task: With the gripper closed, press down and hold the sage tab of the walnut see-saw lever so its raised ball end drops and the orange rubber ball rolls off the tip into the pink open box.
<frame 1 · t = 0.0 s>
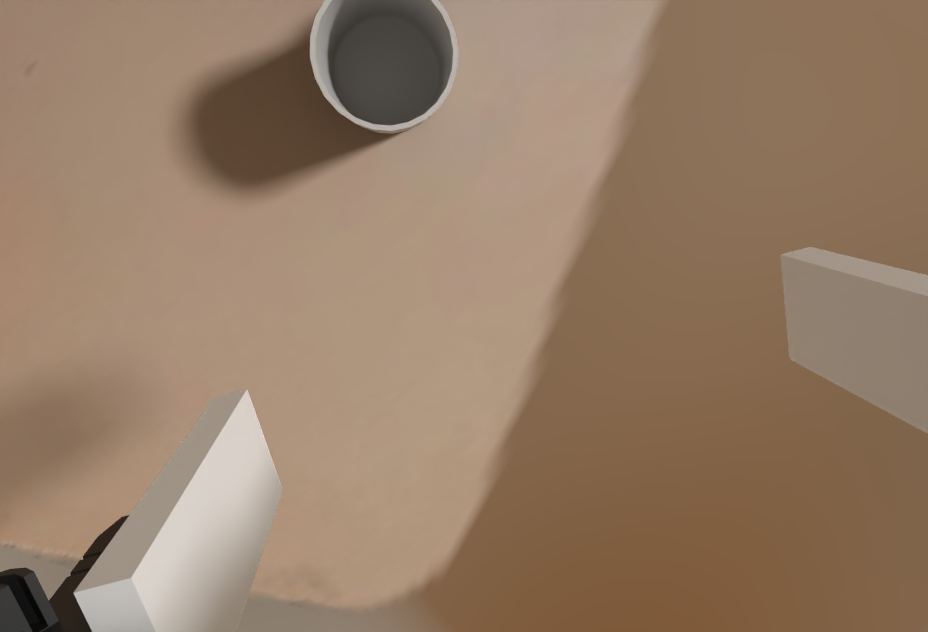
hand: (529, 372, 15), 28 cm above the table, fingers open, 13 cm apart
cup: (396, 53, 39), on the table
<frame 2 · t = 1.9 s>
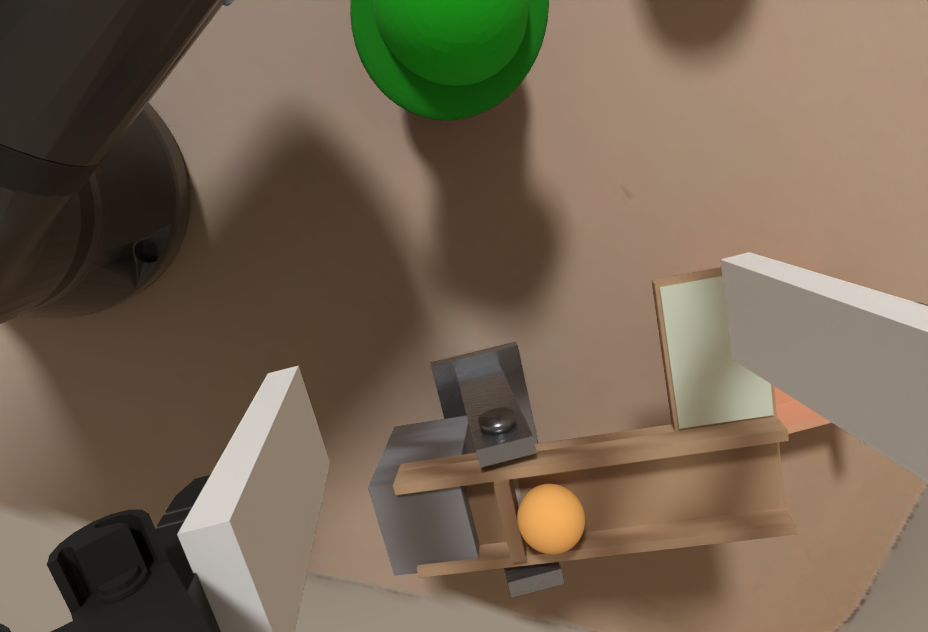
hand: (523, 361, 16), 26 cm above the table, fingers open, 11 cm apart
lever: (559, 415, 35), point 9 cm above the table, hinge at -12.0°, touching ball
toy: (436, 47, 38), on the table
bracket: (489, 423, 44), on the table
ball: (550, 518, 33), point 13 cm above the table, tilted 15°, touching lever
pink open box: (754, 356, 45), on the table
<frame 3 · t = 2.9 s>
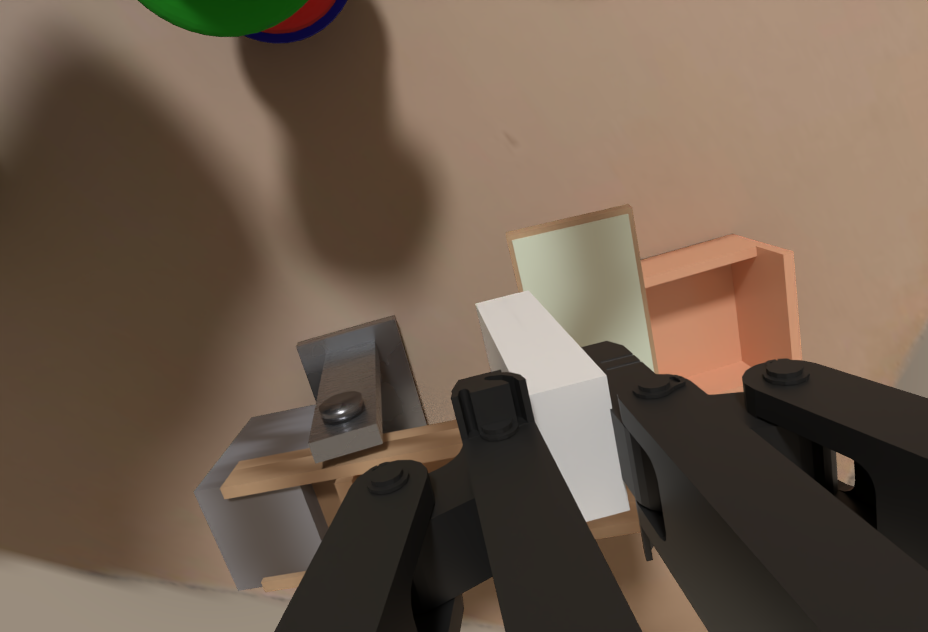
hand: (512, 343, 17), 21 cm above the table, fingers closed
lever: (421, 397, 30), point 9 cm above the table, hinge at -12.0°, touching ball
bracket: (372, 408, 39), on the table
pink open box: (667, 322, 41), on the table
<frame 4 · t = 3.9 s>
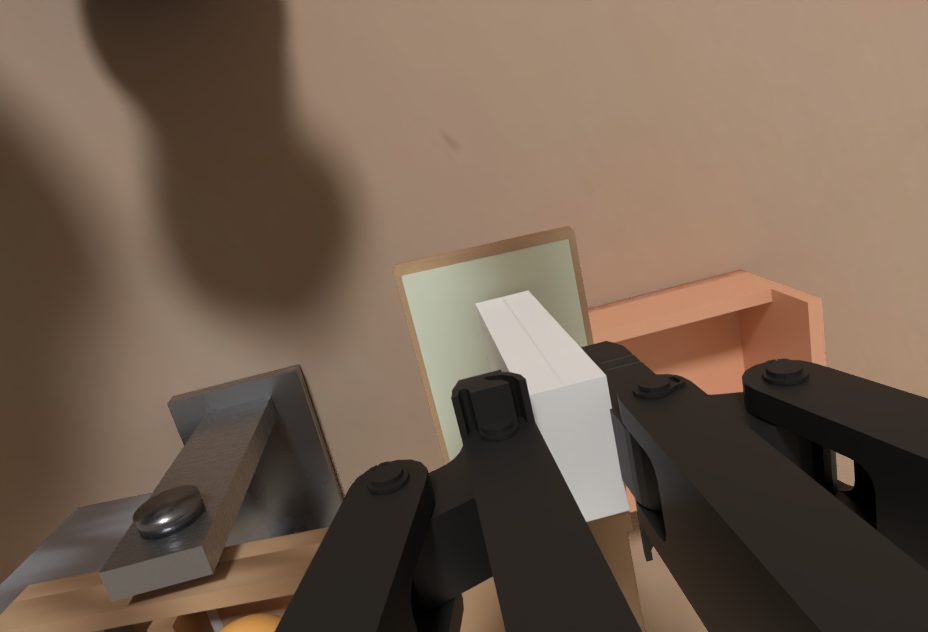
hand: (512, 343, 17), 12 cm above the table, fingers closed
lever: (291, 491, 21), point 9 cm above the table, hinge at -7.3°, touching ball, gripper
bracket: (272, 481, 31), on the table
pink open box: (654, 380, 32), on the table
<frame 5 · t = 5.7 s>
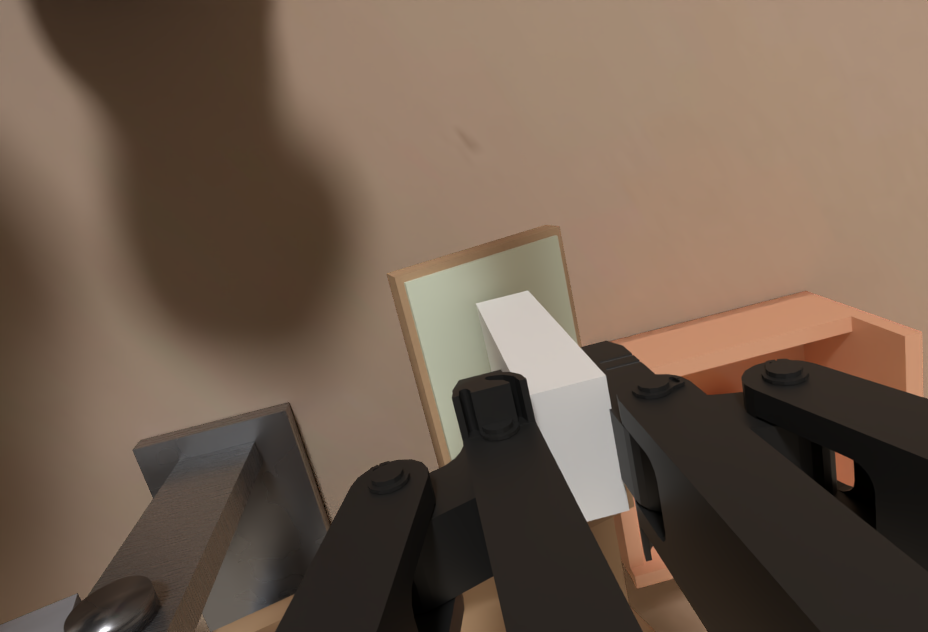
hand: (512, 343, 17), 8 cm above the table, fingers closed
lever: (254, 557, 18), point 8 cm above the table, hinge at 16.0°, touching gripper
bracket: (258, 536, 26), on the table
pink open box: (703, 418, 27), on the table
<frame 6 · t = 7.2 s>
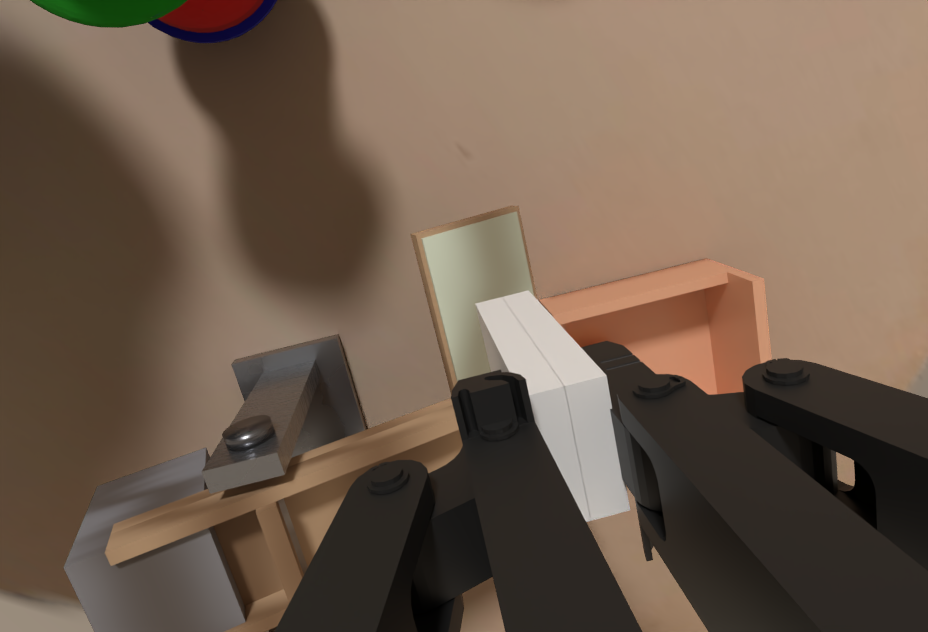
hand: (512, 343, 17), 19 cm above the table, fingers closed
lever: (325, 415, 29), point 8 cm above the table, hinge at 16.0°
bracket: (314, 432, 37), on the table
pink open box: (634, 351, 38), on the table
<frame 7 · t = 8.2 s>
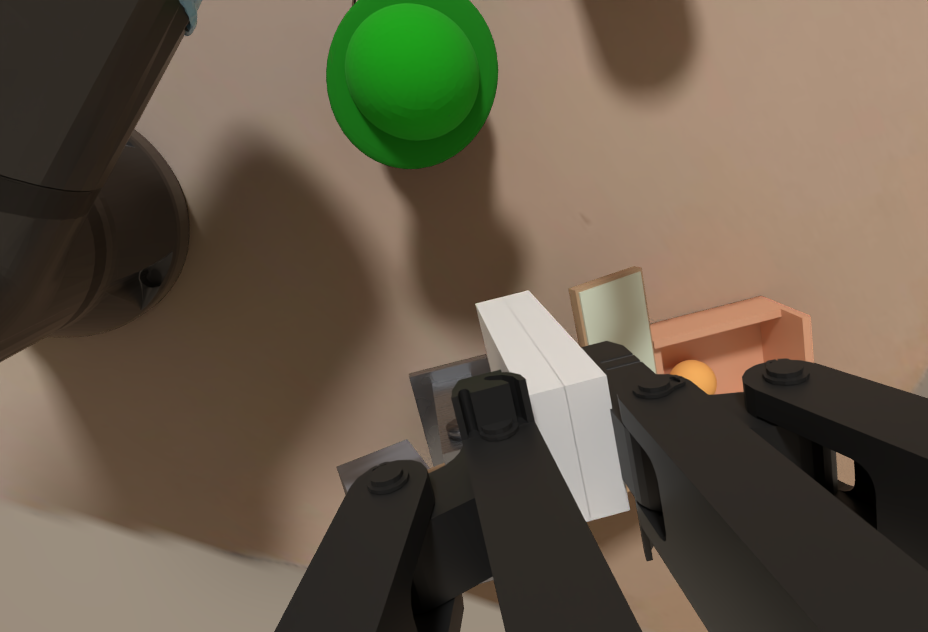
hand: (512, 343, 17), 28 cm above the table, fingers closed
lever: (502, 415, 41), point 8 cm above the table, hinge at 16.0°
toy: (409, 91, 42), on the table
bracket: (463, 428, 49), on the table
ball: (692, 382, 47), point 2 cm above the table, tilted 167°, touching pink open box
pink open box: (705, 365, 50), on the table
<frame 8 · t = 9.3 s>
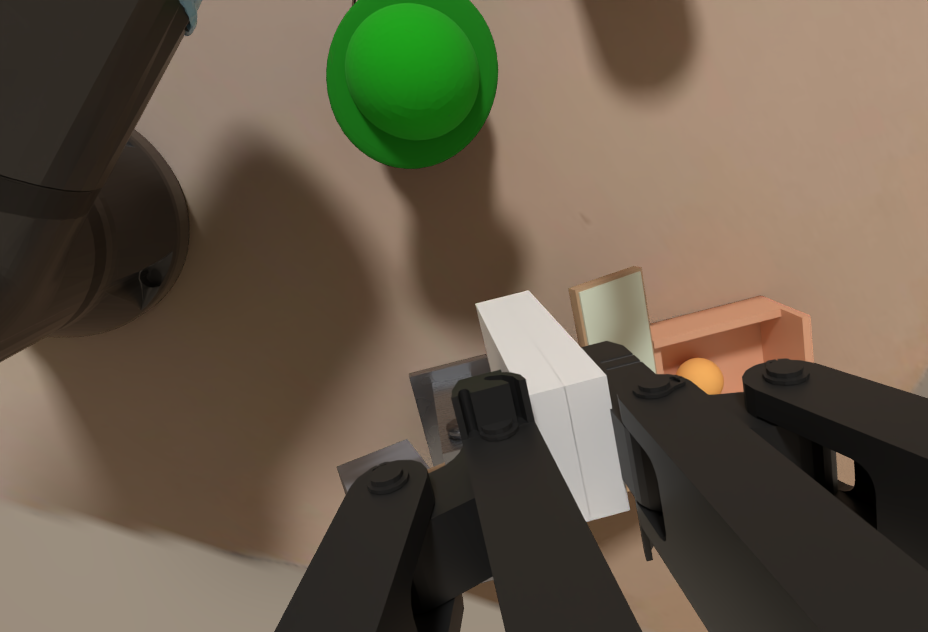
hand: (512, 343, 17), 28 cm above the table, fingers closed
lever: (502, 415, 41), point 8 cm above the table, hinge at 16.0°
toy: (409, 91, 42), on the table
bracket: (463, 427, 49), on the table
ball: (699, 380, 47), point 2 cm above the table, tilted 149°, touching pink open box
pink open box: (705, 365, 50), on the table
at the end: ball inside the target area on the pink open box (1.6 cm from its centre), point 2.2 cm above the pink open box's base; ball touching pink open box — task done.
